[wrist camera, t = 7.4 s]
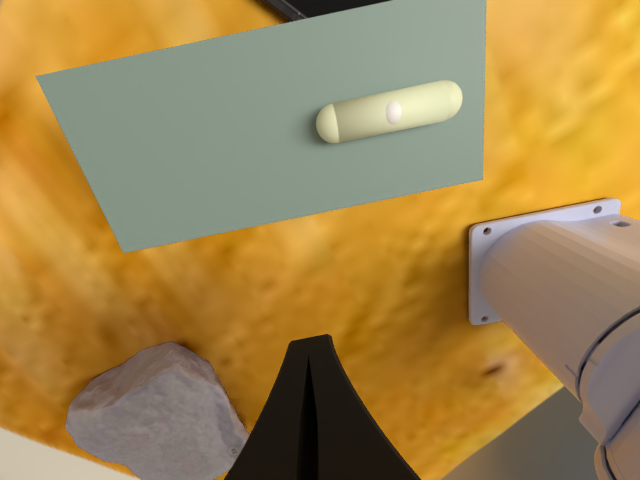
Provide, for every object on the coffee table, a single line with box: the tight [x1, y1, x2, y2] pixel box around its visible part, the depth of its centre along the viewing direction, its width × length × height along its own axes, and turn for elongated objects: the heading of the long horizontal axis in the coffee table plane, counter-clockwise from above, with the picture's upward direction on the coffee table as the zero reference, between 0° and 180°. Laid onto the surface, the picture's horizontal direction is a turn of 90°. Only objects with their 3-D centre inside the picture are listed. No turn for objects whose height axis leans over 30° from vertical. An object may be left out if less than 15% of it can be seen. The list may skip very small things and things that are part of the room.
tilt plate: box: [36, 0, 486, 253], centre depth 12 cm, size 16×7×3 cm, turn 101°
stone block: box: [65, 342, 249, 480], centre depth 24 cm, size 12×5×10 cm
